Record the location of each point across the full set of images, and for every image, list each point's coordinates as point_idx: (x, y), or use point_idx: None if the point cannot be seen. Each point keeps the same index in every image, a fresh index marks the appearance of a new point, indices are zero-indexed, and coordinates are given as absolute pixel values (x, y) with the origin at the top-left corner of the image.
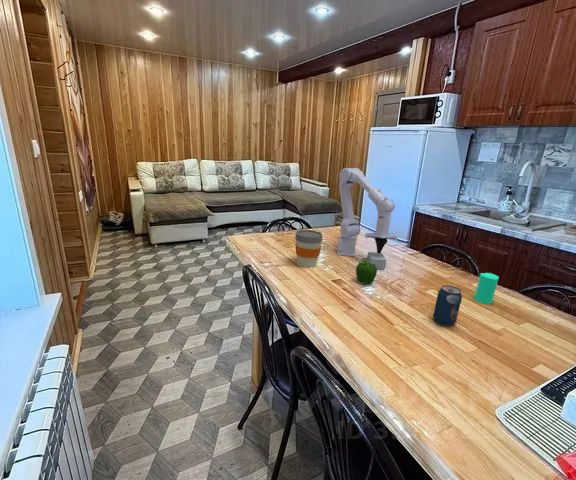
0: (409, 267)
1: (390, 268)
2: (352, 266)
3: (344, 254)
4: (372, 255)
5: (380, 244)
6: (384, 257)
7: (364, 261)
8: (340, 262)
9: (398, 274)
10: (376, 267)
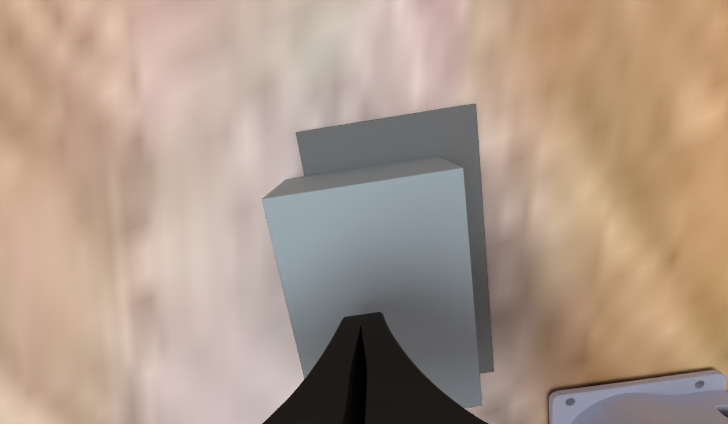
0: (68, 303)
1: (236, 211)
2: (615, 120)
3: (662, 384)
4: (436, 306)
5: (367, 409)
6: (289, 291)
7: (484, 283)
8: (724, 188)
9: (152, 71)
10: (373, 163)
